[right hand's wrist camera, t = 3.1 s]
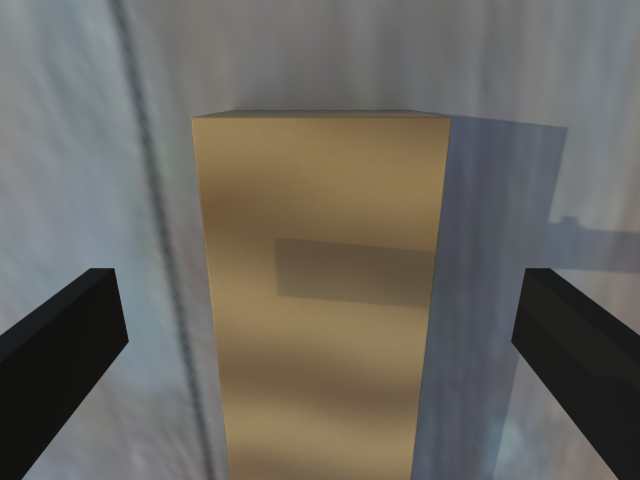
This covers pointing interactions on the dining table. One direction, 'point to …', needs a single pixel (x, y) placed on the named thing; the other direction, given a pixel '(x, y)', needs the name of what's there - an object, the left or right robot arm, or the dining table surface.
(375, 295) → the wooden beam
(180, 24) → the dining table surface
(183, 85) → the dining table surface
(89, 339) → the right robot arm
